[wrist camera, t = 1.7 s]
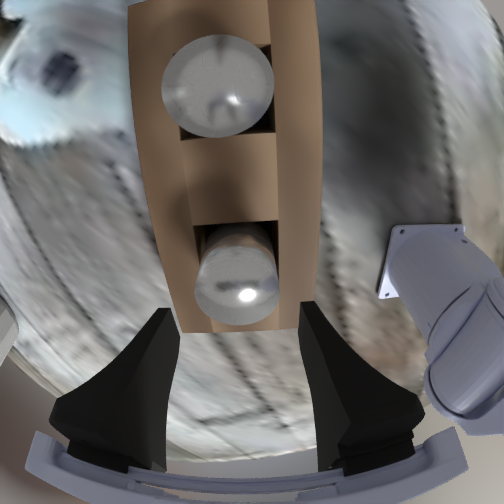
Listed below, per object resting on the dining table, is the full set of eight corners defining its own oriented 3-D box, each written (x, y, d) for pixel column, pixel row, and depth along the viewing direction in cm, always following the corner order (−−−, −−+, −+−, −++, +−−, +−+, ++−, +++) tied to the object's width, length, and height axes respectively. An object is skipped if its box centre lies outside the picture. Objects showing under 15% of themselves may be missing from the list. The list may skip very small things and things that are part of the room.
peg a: (263, 53, 12) (270, 31, 8) (268, 126, 14) (277, 134, 10) (183, 60, 12) (158, 44, 8) (189, 132, 14) (167, 144, 10)
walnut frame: (297, 12, 13) (312, -14, 8) (300, 287, 24) (310, 326, 20) (154, 25, 13) (127, 6, 9) (191, 293, 25) (182, 332, 20)
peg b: (271, 216, 17) (279, 256, 13) (273, 275, 19) (279, 323, 15) (201, 221, 17) (187, 262, 13) (210, 278, 19) (202, 326, 15)
